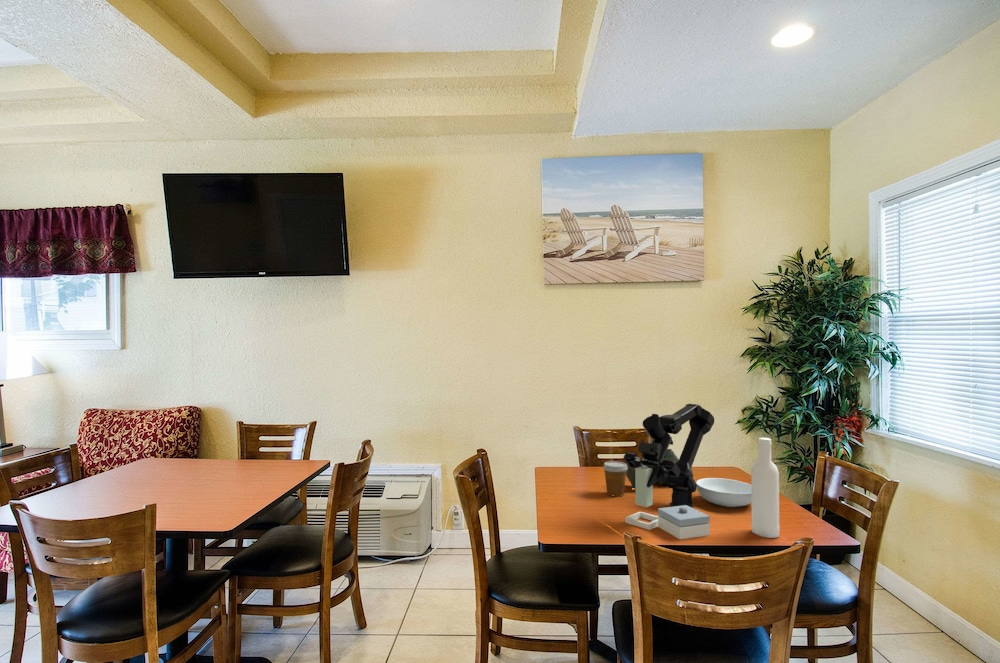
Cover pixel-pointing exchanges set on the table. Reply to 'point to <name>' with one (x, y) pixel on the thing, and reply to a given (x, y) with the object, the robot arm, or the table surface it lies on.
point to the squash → (670, 456)
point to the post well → (633, 521)
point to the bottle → (765, 493)
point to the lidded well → (684, 529)
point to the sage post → (643, 487)
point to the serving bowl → (725, 491)
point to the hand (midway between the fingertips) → (641, 485)
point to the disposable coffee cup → (615, 477)
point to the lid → (683, 515)
